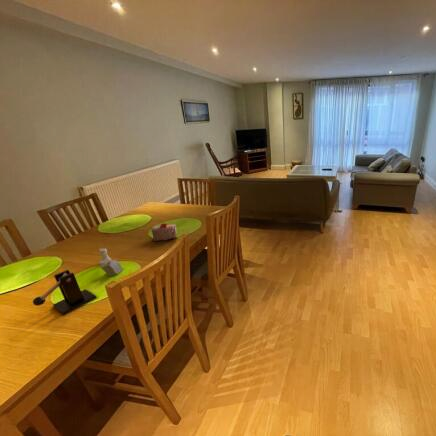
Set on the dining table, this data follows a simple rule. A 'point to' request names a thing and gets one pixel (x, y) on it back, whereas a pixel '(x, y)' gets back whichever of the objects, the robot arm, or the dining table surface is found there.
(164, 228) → the food item
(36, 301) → the switch lever
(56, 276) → the stand
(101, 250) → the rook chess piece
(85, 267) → the dining table surface
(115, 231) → the dining table surface
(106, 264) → the mineral specimen
